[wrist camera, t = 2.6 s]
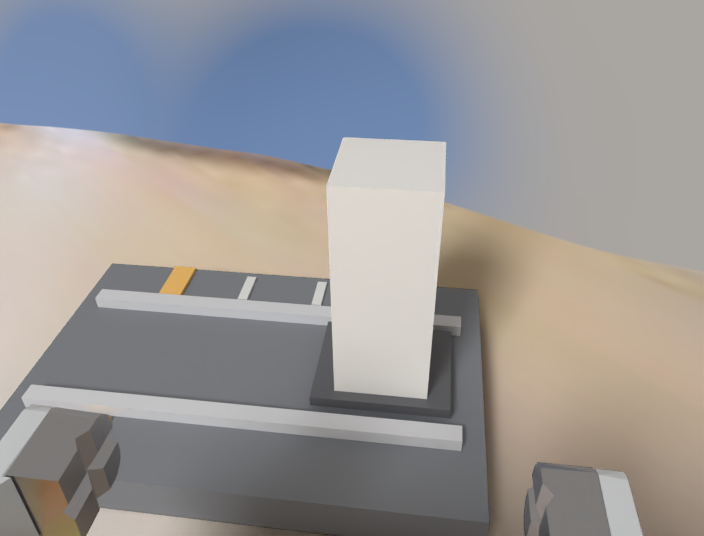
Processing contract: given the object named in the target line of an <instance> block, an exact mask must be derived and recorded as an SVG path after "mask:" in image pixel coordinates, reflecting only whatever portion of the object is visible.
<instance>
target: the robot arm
mask: <svg viewBox="0 0 704 536" xmlns="http://www.w3.org/2000/svg"><path fill="white" fill-rule="evenodd" d="M112 427H113V425H112V422H111V419H110V417H109V415H108V414H101V413H94V412H87V411H80V410H73V409H66V408H59V407H51V406H43V405H35V404H32V405H30V406H28V407H27V408H25V409H24V410H23V411H22V412H21V414H20V415H19V416H18V418H17V419H16V420H15V422H14V423H13V424H12V426H11V427H10V428H9V430H8V431H7V433H6V434H5V435H4V437H3V438H2V439H1V441H0V536H86V535H87V533H88V531H89V529H90V527H91V525H92V524H93V522H94V520H95V518H96V516H97V514H98V512H99V510H100V508H99V504H98V499H97V498H99V497H100V496H101V495H103V494H104V493H106V492H107V491H108V490H110V489H111V487H112V485H113V483H114V481H115V479H116V477H117V473H118V469H119V465H120V461H121V456H120V447H119V443H118V441H117V440H116V439H115V438H114V437H112V436H111V435H110V434H109V432H110V431H111V429H112ZM532 477H533V487H532V488H530V489H528V492H527V496H526V500H525V508H524V533H525V536H643V532H642V529H641V525H640V521H639V517H638V514H637V510H636V506H635V503H634V499H633V495H632V491H631V488H630V484H629V480H628V477H627V476H626V474H625V473H624V472H621V471H613V470H603V469H593V468H592V467H582V466H571V465H561V464H551V463H541V462H537V464H536V465H535V467H534V470H533V474H532Z"/></svg>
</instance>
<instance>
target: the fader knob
mask: <svg viewBox="0 0 704 536" xmlns="http://www.w3.org/2000/svg"><path fill="white" fill-rule="evenodd" d="M445 166H446V142H434V141H411V140H390V139H368V138H347V137H344V138H343V139H342V142H341V145H340V148H339V151H338V154H337V157H336V160H335V163H334V166H333V168H332V171H331V174H330V177H329V180H328V183H327V186H326V187H327V213H328V240H329V266H330V293H331V319H332V322H329V321H328V325H327V329H326V333H325V337H324V341H323V345H322V349H321V353H320V357H319V361H318V365H317V369H316V373H315V377H314V381H313V385H312V389H311V393H310V397H309V399H310V405H314V406H325V407H336V408H346V409H357V410H367V411H378V412H388V413H399V414H409V415H420V416H430V417H441V418H450V410H451V331H442V330H433V323H434V312H435V300H436V289H437V277H438V265H439V254H440V242H441V231H442V219H443V208H444V195H445Z"/></svg>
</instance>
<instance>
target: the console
mask: <svg viewBox="0 0 704 536" xmlns="http://www.w3.org/2000/svg"><path fill="white" fill-rule="evenodd" d="M328 321H329V322H332V319H331V293H330V279H321V278H307V277H293V276H279V275H265V274H251V273H237V272H223V271H210V270H196V268H192V267H178V266H175V268H168V267H154V266H140V265H126V264H112V265H111V266H110V267H109V268H108V270H107V271H106V272H105V274H104V275H103V276H102V278H101V279H100V280H99V282H98V283H97V284H96V286H95V287H94V288H93V289H92V291H91V292H90V293H89V295H88V296H87V297H86V299H85V300H84V301H83V303H82V304H81V305H80V307H79V308H78V309H77V310H76V312H75V313H74V314H73V316H72V317H71V318H70V320H69V321H68V322H67V324H66V325H65V326H64V328H63V329H62V330H61V331H60V333H59V334H58V335H57V337H56V338H55V339H54V341H53V342H52V343H51V345H50V346H49V347H48V349H47V350H46V351H45V352H44V354H43V355H42V356H41V358H40V359H39V360H38V362H37V363H36V364H35V366H34V367H33V368H32V370H31V371H30V372H29V373H28V375H27V376H26V377H25V379H24V380H23V381H22V383H21V384H20V385H19V387H18V388H17V389H16V391H15V392H14V393H13V395H12V396H11V397H10V398H9V400H8V401H7V402H6V404H5V405H4V406H3V408H2V409H1V410H0V441H1V439H2V438H3V437H4V435H5V434H6V433H7V431H8V430H9V428H10V427H11V426H12V424H13V423H14V422H15V420H16V419H17V418H18V416H19V415H20V414H21V412H22V411H23V410H24V409H25V408H27V407H28V406H30V405H32V404H35V405H43V406H51V407H59V408H66V409H73V410H80V411H87V412H94V413H101V414H108V415H109V417H110V419H111V422H112V425H113V427H112V429H111V431H110V432H109V434H110V435H111V436H112V437H114V438H115V439H116V440H117V441H118V443H119V447H120V456H121V461H120V465H119V469H118V473H117V477H116V479H115V481H114V483H113V485H112V487H111V489H110V490H108V491H107V492H106V493H104V494H103V495H101V496H100V497H99V498H97V499H98V504H99V507H100V508H108V509H117V510H125V511H134V512H142V513H151V514H159V515H167V516H176V517H184V518H193V519H201V520H210V521H218V522H227V523H235V524H244V525H252V526H261V527H269V528H277V529H286V530H294V531H303V532H311V533H320V534H328V535H337V536H487V532H488V527H489V504H488V484H487V463H486V442H485V422H484V401H483V380H482V360H481V339H480V319H479V298H478V290H474V289H460V288H446V287H437V289H436V300H435V312H434V323H433V330H442V331H451V410H450V418H441V417H430V416H420V415H409V414H399V413H388V412H378V411H367V410H357V409H346V408H336V407H325V406H314V405H310V399H309V397H310V393H311V389H312V385H313V381H314V377H315V373H316V369H317V365H318V361H319V357H320V353H321V349H322V345H323V341H324V337H325V333H326V329H327V325H328Z"/></svg>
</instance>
